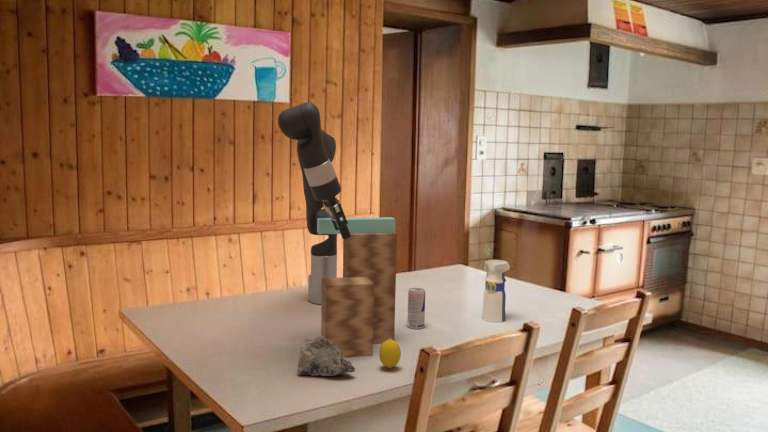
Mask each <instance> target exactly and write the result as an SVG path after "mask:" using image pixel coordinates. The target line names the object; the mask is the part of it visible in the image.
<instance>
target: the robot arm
mask: <svg viewBox="0 0 768 432" xmlns="http://www.w3.org/2000/svg"><path fill="white" fill-rule="evenodd" d="M321 123H322V122H321V113H320V110H319V108H318V106H317V105H316V104H314V103H313V102H311V101H307V102H304V103H303V102H302V103H300V104H298V105H294V106H292V107H288V108H287V109H285V110H282V111H280V113H279V115H278V118H277V124H278V128H279V129H280V131H281V133H282V134H283V135H284V136H285V137H287V138H288V139H291V140H295V141H297V143H296V145H297V146H296V153H297V158H298V163H299V166H300V170H301V175H302V185H303V196H304V201H305V206H306V227H307V232H308V233H309V234H310V235H314V236H328V237H327V238H326V239H325V240H324V241H321V242H319V243H316V244H313V245H312V246H311V248H310V274H308V276H307V277H308V278H307V279H308V280H307V281H308V282H307V283H308V285H307V286H308V289H307V290H308V292H307V294H308V295H307V297H308V298H307V301H308V302H310V303H312V304H316V305H321V294H322V278H338V277H337V275H338V272H337V271H338V270H337V269H338V267H337V266H338V234H318V232H317V218H331V220H332V223H333V225H334V228H335V230H339V231H340V233H341V234H340V235H341V237H342V238H341V239H344V240H345V239H347V238H350V236H351V235H350V232H349V230H348V227H347V224H348V221H347V220H346V218H347V217H346V215H345V212H344V210H343V207H342V203H341V200H339V199H338V198H337V197H336V196H338V195H339V194H340V193H341V192H342V186H341V184H340V181H339V179H338V176H337V174H336V170H335V168H334V165H333V161H334V158H335V155H336V147H337V146H336V145H337V144H336V140H335V138H334V137H333V136H332V135H330V134H328V133H327V132H325V131H324V130H323V129H322V126H321V125H322V124H321ZM340 218H342V219H343V221H341V220H340Z"/></svg>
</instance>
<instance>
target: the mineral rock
mask: <svg viewBox="0 0 768 432" xmlns="http://www.w3.org/2000/svg"><path fill="white" fill-rule="evenodd" d="M354 372H356V367H354V365H353V364H352V362H351V360H349V359H348V358H347V357H344V356H343V355H342V354H341V351H340V350H339V348H338V347H337V345H336V344H334V343H332V342H331V341H329V340H327V339H325V338H324V337H323V336H321V335H320V336H316V337H315V338H310V337H306V338H305V339H304V341H303V343H302V345H301V347H300V350H299V356H298V361H297V373H298V375H306V376H313V377H314V376H321V377H334V376H338V375H344V374H347V373H354Z"/></svg>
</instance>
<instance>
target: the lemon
mask: <svg viewBox="0 0 768 432" xmlns="http://www.w3.org/2000/svg"><path fill="white" fill-rule="evenodd" d="M378 354H379V355H378V356H379V360H380V362H381V364H382V365H384V367H387V369H390V370H391V369H392V368H393V367H395V366H397V365H398V364H399V362H400V360H401V356H402V355H401V348H400V345H399V343H398V342H397V341H395V339H394V340H392V339H389V340H386V341H385V342H383V343H381V345H380V347H379V353H378Z"/></svg>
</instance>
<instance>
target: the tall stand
mask: <svg viewBox="0 0 768 432" xmlns="http://www.w3.org/2000/svg"><path fill="white" fill-rule="evenodd" d="M350 235H351V236H350V238H347V239H345V240H344V239H343V238H342V239H343V241H342V245H343V246H342V250H343V252H342V253H343V254H342V277H368V278H369V279H370V280H371V281H372V282H373V283H374V317H373V345H377V344H379V345H380V344H382V343H383V342H385V341H386V340H389V339H392V340H394V341H395V331H396V330H395V329H396V326H395V325H396V323H395V322H396V320H395V319H396V289H397V288H396V287H397V285H396V283H397V249H398V248H397V241H398V239H397V238H398V234H397V232H395V233H363V234H350Z"/></svg>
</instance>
